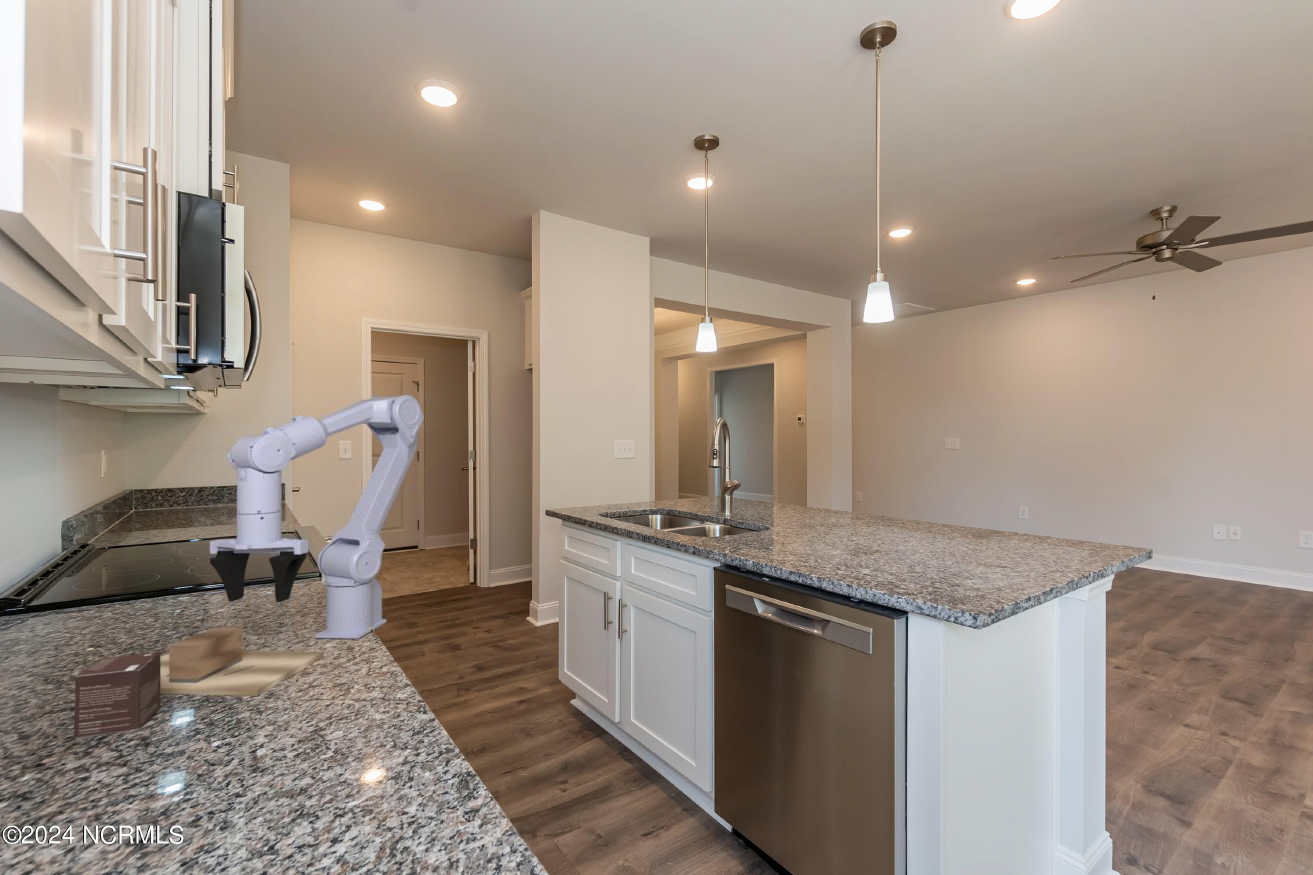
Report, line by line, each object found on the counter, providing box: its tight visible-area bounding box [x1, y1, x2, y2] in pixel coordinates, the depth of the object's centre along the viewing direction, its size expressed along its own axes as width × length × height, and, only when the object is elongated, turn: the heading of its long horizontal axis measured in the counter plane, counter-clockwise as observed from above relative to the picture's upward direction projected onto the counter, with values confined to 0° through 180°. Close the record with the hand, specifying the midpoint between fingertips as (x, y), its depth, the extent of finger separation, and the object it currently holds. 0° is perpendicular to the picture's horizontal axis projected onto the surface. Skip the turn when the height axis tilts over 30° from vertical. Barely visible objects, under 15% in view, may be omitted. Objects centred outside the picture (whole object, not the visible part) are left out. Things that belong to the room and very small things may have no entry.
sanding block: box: [168, 626, 243, 683], centre depth 83 cm, size 8×4×5 cm, turn 177°
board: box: [160, 650, 324, 697], centre depth 85 cm, size 14×24×1 cm, turn 87°
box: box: [73, 651, 162, 740], centre depth 70 cm, size 6×6×7 cm
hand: (259, 599), depth 89 cm, fingers open, 7 cm apart
